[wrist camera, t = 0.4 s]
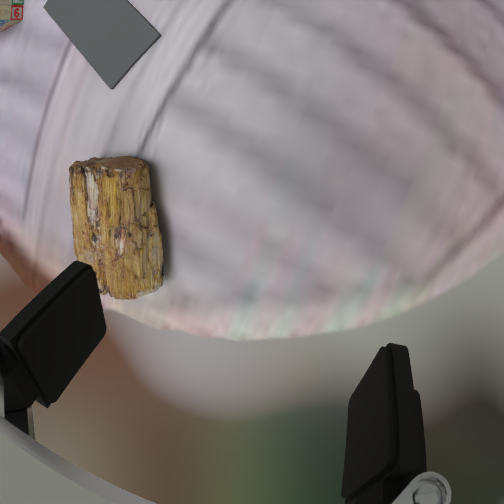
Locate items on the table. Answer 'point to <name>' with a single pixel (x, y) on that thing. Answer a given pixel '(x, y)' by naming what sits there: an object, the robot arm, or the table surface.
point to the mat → (105, 33)
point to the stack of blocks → (10, 13)
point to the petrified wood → (116, 225)
